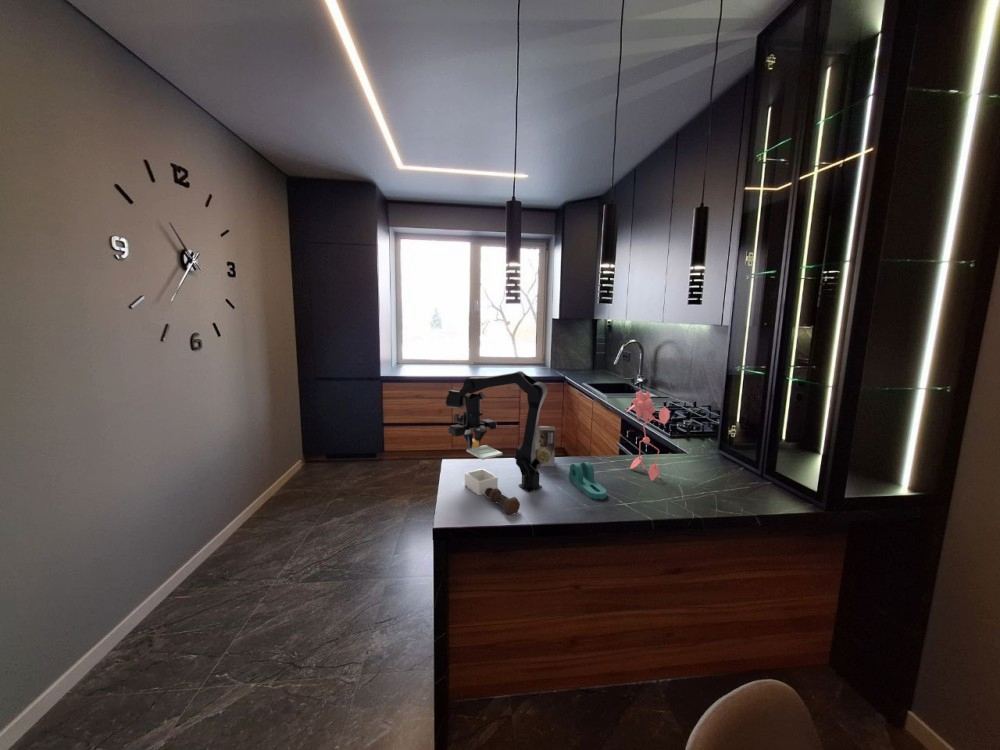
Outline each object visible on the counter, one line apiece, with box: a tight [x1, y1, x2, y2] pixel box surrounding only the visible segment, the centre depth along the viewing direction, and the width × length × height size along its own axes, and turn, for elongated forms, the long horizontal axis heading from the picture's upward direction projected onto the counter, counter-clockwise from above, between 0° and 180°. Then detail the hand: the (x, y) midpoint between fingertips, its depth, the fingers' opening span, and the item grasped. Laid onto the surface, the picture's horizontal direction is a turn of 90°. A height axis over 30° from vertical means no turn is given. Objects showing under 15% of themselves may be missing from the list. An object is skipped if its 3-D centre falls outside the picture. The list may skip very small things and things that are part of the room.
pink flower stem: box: [621, 389, 671, 487], centre depth 155 cm, size 15×26×35 cm, turn 17°
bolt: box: [484, 488, 521, 516], centre depth 132 cm, size 6×5×15 cm
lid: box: [466, 437, 503, 461], centre depth 147 cm, size 15×9×3 cm, turn 36°
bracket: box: [568, 461, 607, 500], centre depth 145 cm, size 18×7×8 cm, turn 16°
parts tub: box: [464, 468, 499, 496], centre depth 144 cm, size 10×8×5 cm
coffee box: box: [534, 425, 556, 467], centre depth 168 cm, size 9×6×16 cm
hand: (473, 448), depth 152 cm, fingers closed on lid, 2 cm apart
